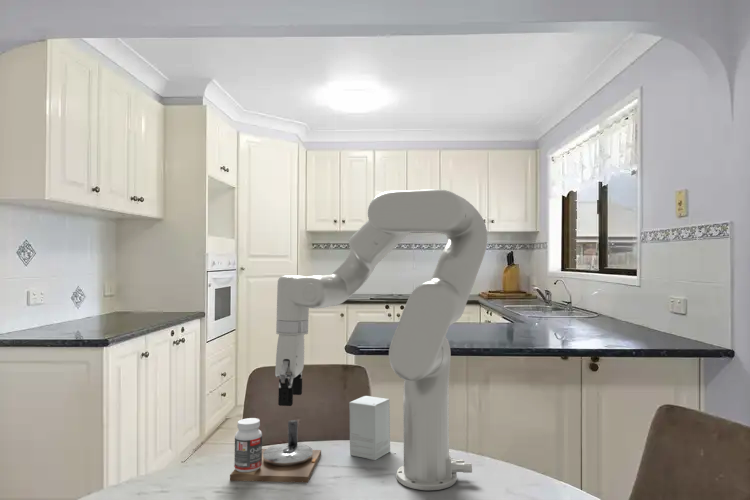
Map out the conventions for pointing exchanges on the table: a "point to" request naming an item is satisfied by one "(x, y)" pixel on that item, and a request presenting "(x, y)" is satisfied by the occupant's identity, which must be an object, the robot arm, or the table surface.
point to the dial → (288, 449)
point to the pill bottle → (248, 445)
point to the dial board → (280, 471)
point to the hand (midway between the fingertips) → (290, 399)
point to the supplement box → (369, 427)
